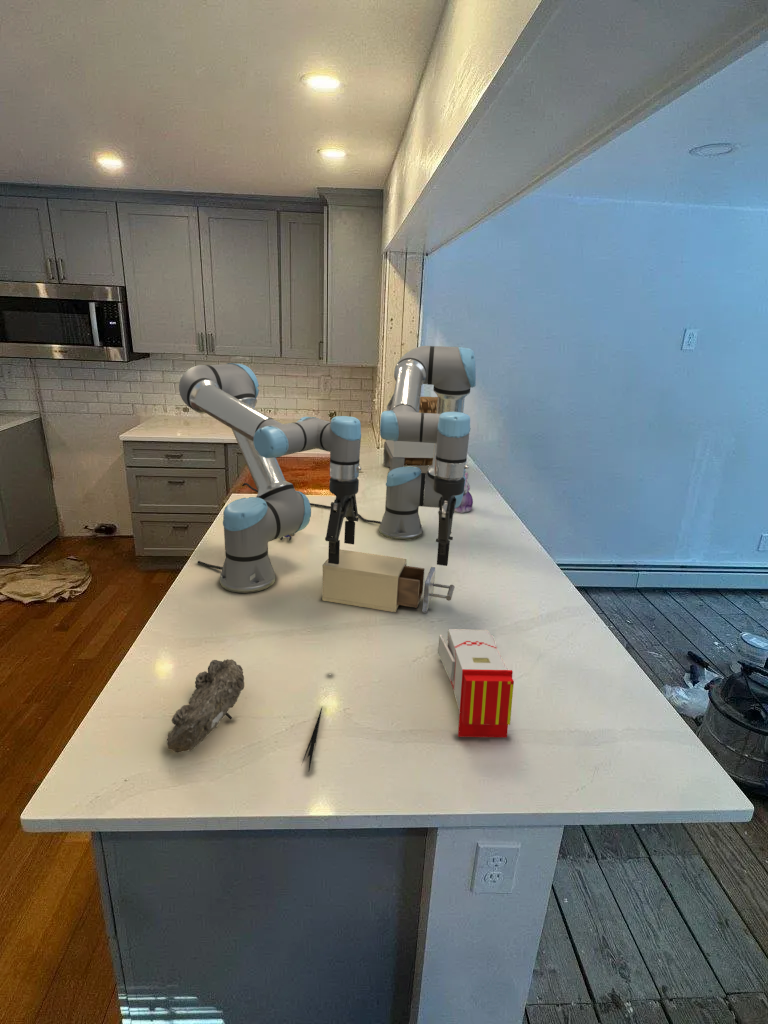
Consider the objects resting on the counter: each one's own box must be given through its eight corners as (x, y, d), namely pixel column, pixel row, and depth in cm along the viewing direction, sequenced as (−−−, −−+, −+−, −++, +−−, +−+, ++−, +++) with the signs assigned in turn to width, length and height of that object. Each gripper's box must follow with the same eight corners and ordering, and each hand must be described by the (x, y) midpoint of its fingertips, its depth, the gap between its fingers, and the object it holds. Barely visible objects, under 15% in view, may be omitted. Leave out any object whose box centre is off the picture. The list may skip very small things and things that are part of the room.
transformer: (382, 463, 289) (386, 382, 275) (445, 464, 293) (451, 384, 279) (390, 482, 257) (394, 392, 243) (460, 483, 261) (468, 394, 247)
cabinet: (404, 593, 159) (406, 558, 155) (395, 612, 148) (397, 576, 145) (335, 582, 163) (336, 548, 159) (322, 600, 153) (322, 565, 149)
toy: (488, 613, 130) (523, 677, 101) (484, 667, 133) (517, 744, 104) (435, 612, 130) (455, 676, 101) (432, 666, 133) (451, 743, 103)
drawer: (454, 598, 155) (456, 570, 152) (449, 616, 145) (451, 586, 143) (366, 584, 160) (367, 557, 157) (356, 601, 151) (357, 572, 148)
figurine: (459, 514, 221) (463, 477, 216) (445, 506, 229) (448, 470, 224) (479, 511, 225) (483, 475, 220) (464, 503, 234) (467, 468, 228)
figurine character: (295, 547, 188) (300, 526, 202) (294, 527, 185) (300, 506, 198) (274, 546, 188) (281, 525, 201) (273, 526, 185) (280, 506, 198)
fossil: (192, 660, 117) (244, 628, 112) (224, 691, 120) (276, 661, 115) (142, 746, 98) (202, 712, 93) (182, 779, 101) (242, 748, 96)
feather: (331, 679, 122) (336, 673, 122) (307, 777, 96) (313, 769, 95) (324, 675, 122) (329, 669, 121) (298, 772, 95) (304, 764, 95)
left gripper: (343, 494, 133) (340, 574, 141) (371, 467, 156) (367, 537, 164) (313, 489, 135) (312, 570, 142) (345, 463, 158) (342, 534, 165)
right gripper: (461, 485, 132) (453, 576, 140) (467, 471, 144) (459, 556, 152) (430, 482, 134) (423, 572, 142) (438, 468, 145) (432, 552, 153)
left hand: (341, 553), depth 153 cm, fingers open, 13 cm apart
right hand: (442, 564), depth 147 cm, fingers closed
